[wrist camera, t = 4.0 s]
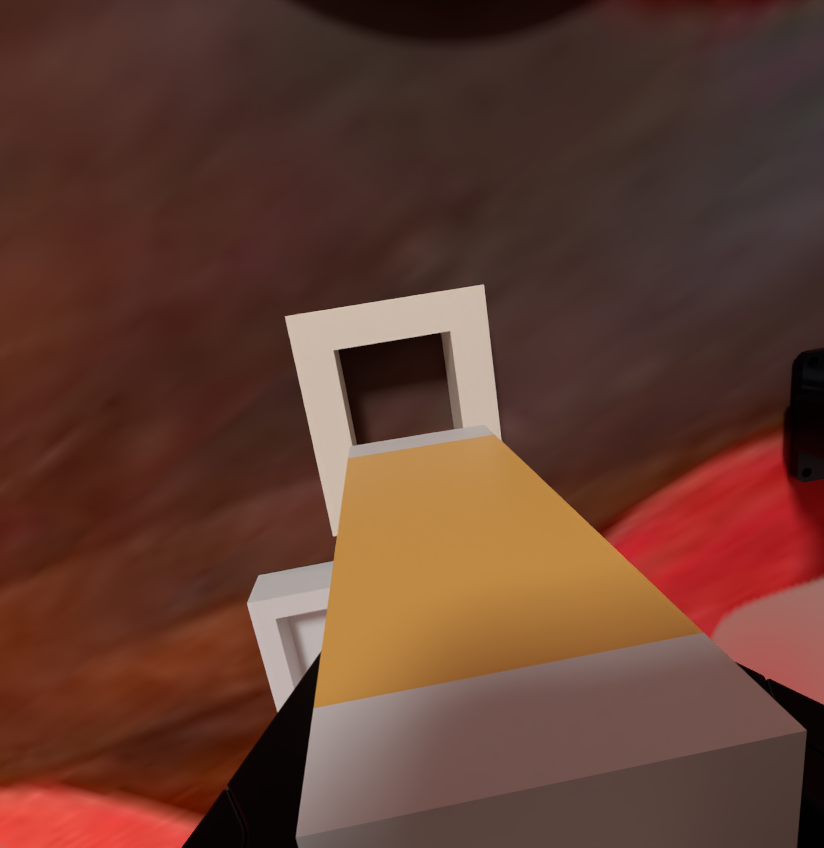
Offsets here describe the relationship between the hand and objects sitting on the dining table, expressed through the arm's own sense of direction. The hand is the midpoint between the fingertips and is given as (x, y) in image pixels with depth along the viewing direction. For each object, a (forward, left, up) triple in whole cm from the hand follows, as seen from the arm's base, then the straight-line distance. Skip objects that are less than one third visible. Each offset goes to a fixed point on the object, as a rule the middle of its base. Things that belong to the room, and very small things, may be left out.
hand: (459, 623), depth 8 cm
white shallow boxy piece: (0, -2, -13) cm, 13 cm away
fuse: (0, 0, -4) cm, 4 cm away
